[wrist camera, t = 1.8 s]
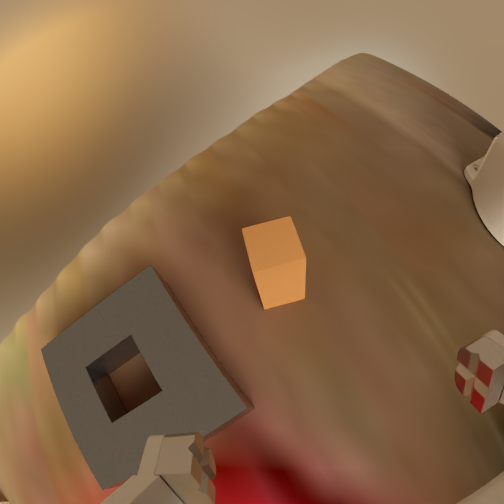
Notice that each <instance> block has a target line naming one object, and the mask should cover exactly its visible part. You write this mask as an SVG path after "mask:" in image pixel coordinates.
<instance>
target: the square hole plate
mask: <svg viewBox="0 0 504 504" xmlns="http://www.w3.org/2000/svg"><path fill="white" fill-rule="evenodd" d="M41 351H42V355H43V358H44V361H45V364H46V368H47V371H48V374H49V377H50V379H51V382H52V385H53V388H54V391H55V393H56V396H57V399H58V401H59V404H60V406H61V409H62V411H63V414H64V416H65V418H66V421H67V423H68V425H69V427H70V430H71V432H72V434H73V436H74V438H75V440H76V442H77V444H78V446H79V448H80V450H81V452H82V454H83V456H84V458H85V460H86V462H87V464H88V466H89V467H90V469H91V471H92V473H93V475H94V476H95V478H96V480H97V481H98V483H99V485H100V486H101V488H102V490H104V489H108V488H112V487H116V486H120V485H122V484H123V483H125V482H126V481H127V480H128V479H129V478H130V477H131V476H133V475H137V474H138V470H139V467H140V463H141V459H142V456H143V452H144V449H145V445H146V442H147V439H148V438H149V437H150V436H151V435H166V434H179V433H191V432H200V434H201V435H202V437H203V439H204V441H206V440H207V439H209V438H210V437H212V436H214V435H215V434H217V433H218V432H220V431H221V430H223V429H225V428H226V427H228V426H229V425H231V424H232V423H234V422H235V421H237V420H238V419H240V418H241V417H243V416H244V415H245V414H247V413H248V412H250V411H251V410H253V409H254V407H253V405H252V404H251V403H250V402H249V400H248V399H247V398H246V396H245V395H244V394H243V392H242V391H241V390H240V389H239V387H238V386H237V385H236V383H235V382H234V381H233V379H232V378H231V377H230V375H229V374H228V372H227V371H226V370H225V368H224V367H223V366H222V364H221V363H220V361H219V360H218V359H217V357H216V356H215V355H214V353H213V352H212V350H211V349H210V347H209V346H208V345H207V343H206V342H205V340H204V339H203V337H202V336H201V334H200V333H199V332H198V330H197V329H196V327H195V326H194V324H193V323H192V321H191V320H190V318H189V317H188V315H187V314H186V312H185V311H184V309H183V308H182V306H181V304H180V303H179V301H178V300H177V298H176V297H175V295H174V294H173V292H172V290H171V289H170V287H169V286H168V284H167V282H166V281H165V280H164V279H163V278H162V277H161V276H160V275H159V273H158V272H157V271H156V270H155V269H154V268H153V267H152V265H150V266H148V267H147V268H146V269H144V270H143V271H141V272H140V273H139V274H137V275H136V276H135V277H133V278H132V279H131V280H129V281H128V282H127V283H125V284H124V285H123V286H121V287H120V288H119V289H117V290H116V291H115V292H113V293H112V294H111V295H109V296H108V297H107V298H105V299H104V300H103V301H101V302H100V303H99V304H97V305H96V306H95V307H94V308H92V309H91V310H90V311H88V312H87V313H86V314H85V315H83V316H82V317H81V318H79V319H78V320H77V321H76V322H74V323H73V324H72V325H71V326H69V327H68V328H67V329H65V330H64V331H63V332H62V333H60V334H59V335H58V336H57V337H56V338H54V339H53V340H52V341H51V342H49V343H48V344H47V345H46V346H44V347H43V348H42V349H41ZM140 352H141V354H142V356H143V358H144V360H145V362H146V363H147V365H148V367H149V369H150V370H151V372H152V374H153V376H154V377H155V379H156V381H157V382H158V384H159V386H160V387H161V389H162V391H161V392H160V393H158V394H157V395H155V396H154V397H152V398H151V399H149V400H148V401H146V402H144V403H143V404H141V405H140V406H138V407H137V408H135V409H134V410H132V411H130V412H129V413H127V411H126V409H125V407H124V405H123V403H122V402H121V400H120V398H119V396H118V394H117V392H116V390H115V388H114V386H113V384H112V382H111V380H110V378H109V376H108V374H110V373H111V372H112V371H114V370H115V369H117V368H118V367H120V366H121V365H123V364H124V363H125V362H127V361H128V360H130V359H131V358H132V357H134V356H135V355H137V354H138V353H140Z"/></svg>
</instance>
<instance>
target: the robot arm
mask: <svg viewBox="0 0 504 504" xmlns="http://www.w3.org/2000/svg"><path fill="white" fill-rule="evenodd" d="M464 175H465V177H466V179H467V181H468V182H469V184H470V186H471V188H472V192H473V199H474V203H475V206H476V209H477V211H478V214H479V216H480V218H481V219H482V221H483V223H484V224H485V226H486V227H487V229H488V230H489V231H490V233H491V234H492V235H493V236H494V237H495V238H496V239H497V240H498V241H499V242H500V243H501V244H502V245H503V246H504V133H502V132H501V133H500V134H499V135H498V136H496V137H495V138H494V140H493V142H492V144H491V146H490V148H489V149H488V151H487V153H486V155H485V156H484V157H482V158H480V159H478V160H476V161H475V162H473V163H471V164H469V165H468V166H467V167H466V168H465V170H464ZM457 360H458V361H459V362H460V363H459V365H458V367H457V368H456V370H455V382H456V386H457V388H458V389H459V391H460V392H461V393H462V394H463V395H466V396H470V403H471V404H472V405H473V406H474V407H475V408H476V409H477V410H478V411H479V412H480V413H483V412H484V411H486V410H487V409H489V408H490V407H492V406H493V405H495V404H496V403H498V402H499V401H500V402H499V403H501V404H504V335H503V334H501V333H500V332H498V331H497V330H491V331H489V332H488V333H486V334H485V335H483V336H482V337H480V338H478V339H476V340H475V341H473V342H471V343H469V344H468V345H466V346H464V347H462V348H460V350H459V352H458V356H457ZM215 476H216V467H215V461H214V458H213V455H212V453H211V451H210V449H209V448H207V447H205V446H204V439H203V437H202V435H201V434H200V432H191V433H179V434H166V435H151V436H150V437H149V438H148V439H147V442H146V445H145V449H144V452H143V456H142V459H141V463H140V467H139V470H138V474H137V475H133V476H131V477H130V478H129V479H128V480H127V481H126V482H125V483H123V484H122V485H121V486H120V487H119V488H118V489H117V490H115V491H114V492H113V493H112V494H111V495H109V496H108V497H107V498H106V499H105V500H103V501H102V502H101V503H100V504H215V486H214V485H213V483H212V482H211V481H212V479H213V478H214V477H215ZM456 504H504V471H503V472H502V473H500V474H499V475H498V476H496V477H495V478H494V479H492V480H491V481H490V482H488V483H487V484H485V485H484V486H483V487H481V488H480V489H478V490H477V491H475V492H474V493H472V494H471V495H469V496H468V497H466V498H464V499H463V500H461V501H460V502H458V503H456Z"/></svg>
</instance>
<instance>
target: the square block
mask: <svg viewBox="0 0 504 504" xmlns="http://www.w3.org/2000/svg"><path fill="white" fill-rule="evenodd" d="M242 232H243V236H244V240H245V244H246V248H247V252H248V256H249V260H250V264H251V268H252V272H253V275H254V279H255V282H256V285H257V288H258V291H259V294H260V297H261V300H262V304H263V307H264V310H265V309H268V308H272V307H276V306H280V305H283V304H287V303H291V302H294V301H298V300H301V299H305V280H306V256H305V254H304V251H303V248H302V245H301V242H300V240H299V237H298V234H297V232H296V229H295V226H294V224H293V221H292V218H291V216H288V217H284V218H280V219H276V220H272V221H269V222H265V223H261V224H257V225H253V226H250V227H246V228H242Z"/></svg>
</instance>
